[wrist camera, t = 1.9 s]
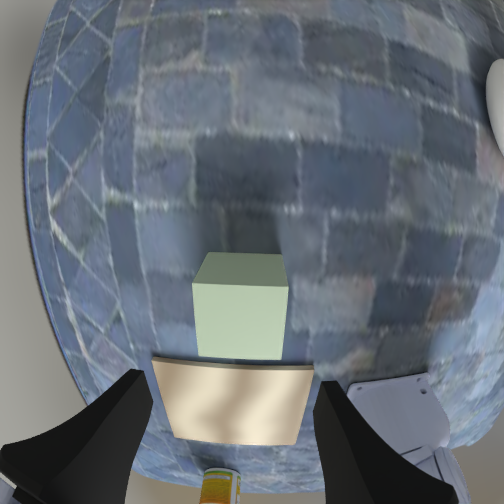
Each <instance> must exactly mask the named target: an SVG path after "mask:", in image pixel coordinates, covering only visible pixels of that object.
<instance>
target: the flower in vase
mask: <svg viewBox="0 0 504 504" xmlns="http://www.w3.org/2000/svg"><path fill="white" fill-rule="evenodd" d="M486 101H487V108H488V114H489V119H490V123H491V126H492V130H493V133H494V136H495V139H496V142H497V144H498V147H499V149H500V151H501V153H502V155H503V157H504V59H498V60H496V61H494V63H493V64H492V65H491V67H490V70H489V72H488V75H487V80H486Z"/></svg>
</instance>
